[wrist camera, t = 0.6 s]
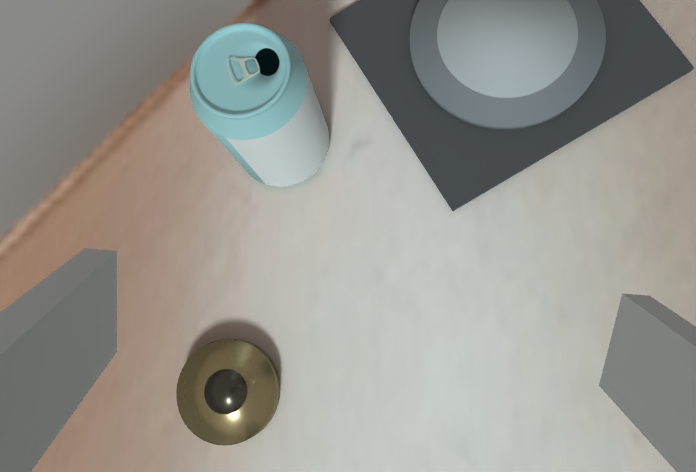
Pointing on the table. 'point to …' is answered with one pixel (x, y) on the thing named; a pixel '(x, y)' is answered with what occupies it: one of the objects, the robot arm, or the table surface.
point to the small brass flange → (228, 392)
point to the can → (259, 103)
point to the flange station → (504, 77)
